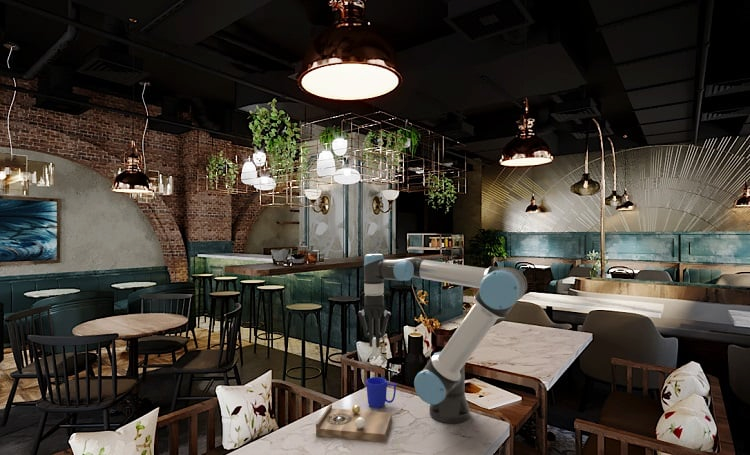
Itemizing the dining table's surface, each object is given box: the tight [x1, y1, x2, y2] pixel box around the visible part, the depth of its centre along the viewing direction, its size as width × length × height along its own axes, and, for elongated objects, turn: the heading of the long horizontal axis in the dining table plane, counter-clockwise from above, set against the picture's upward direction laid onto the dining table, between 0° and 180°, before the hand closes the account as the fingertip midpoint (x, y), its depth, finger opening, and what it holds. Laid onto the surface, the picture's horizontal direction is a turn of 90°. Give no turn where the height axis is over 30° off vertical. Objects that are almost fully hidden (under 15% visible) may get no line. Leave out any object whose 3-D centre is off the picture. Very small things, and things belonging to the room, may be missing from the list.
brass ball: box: [351, 404, 361, 414], centre depth 149 cm, size 3×3×3 cm
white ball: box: [355, 417, 365, 429], centre depth 138 cm, size 4×4×4 cm
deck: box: [315, 403, 393, 443], centre depth 144 cm, size 24×16×4 cm, turn 79°
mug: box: [365, 376, 397, 409], centre depth 161 cm, size 8×12×10 cm
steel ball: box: [335, 417, 343, 422], centre depth 145 cm, size 3×3×3 cm
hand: (374, 355), depth 155 cm, fingers closed
